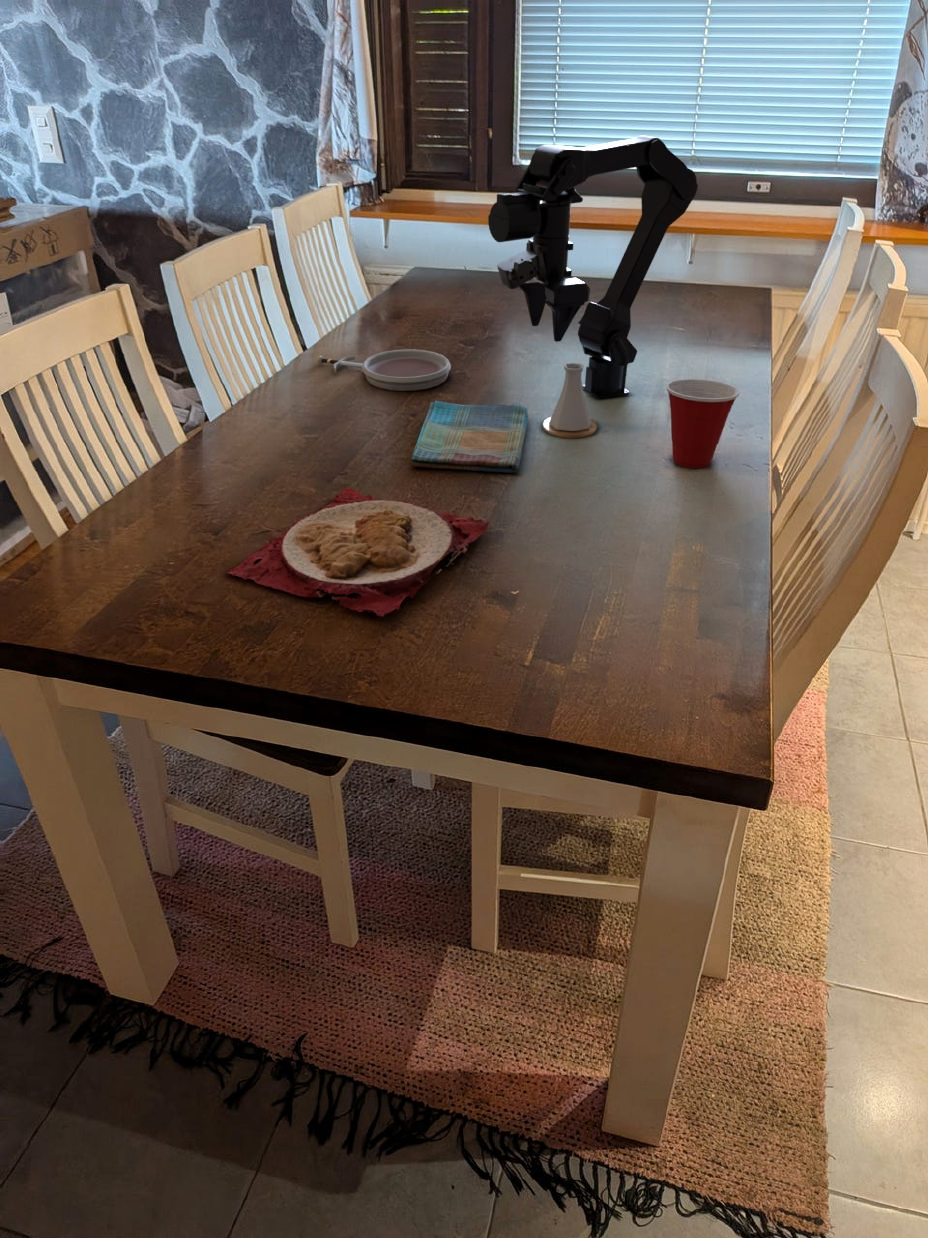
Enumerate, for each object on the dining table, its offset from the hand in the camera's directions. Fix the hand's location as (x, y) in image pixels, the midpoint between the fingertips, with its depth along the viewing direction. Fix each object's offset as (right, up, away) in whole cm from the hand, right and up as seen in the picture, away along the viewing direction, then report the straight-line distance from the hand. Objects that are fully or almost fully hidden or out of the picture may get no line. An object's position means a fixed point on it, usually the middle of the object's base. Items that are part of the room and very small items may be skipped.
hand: (546, 333), depth 153 cm
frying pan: (-30, -1, +22) cm, 37 cm away
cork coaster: (+4, -16, 0) cm, 16 cm away
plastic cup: (+22, -24, -11) cm, 34 cm away
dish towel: (-13, -19, -5) cm, 24 cm away
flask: (+4, -16, 0) cm, 16 cm away
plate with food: (-27, -40, -35) cm, 59 cm away
